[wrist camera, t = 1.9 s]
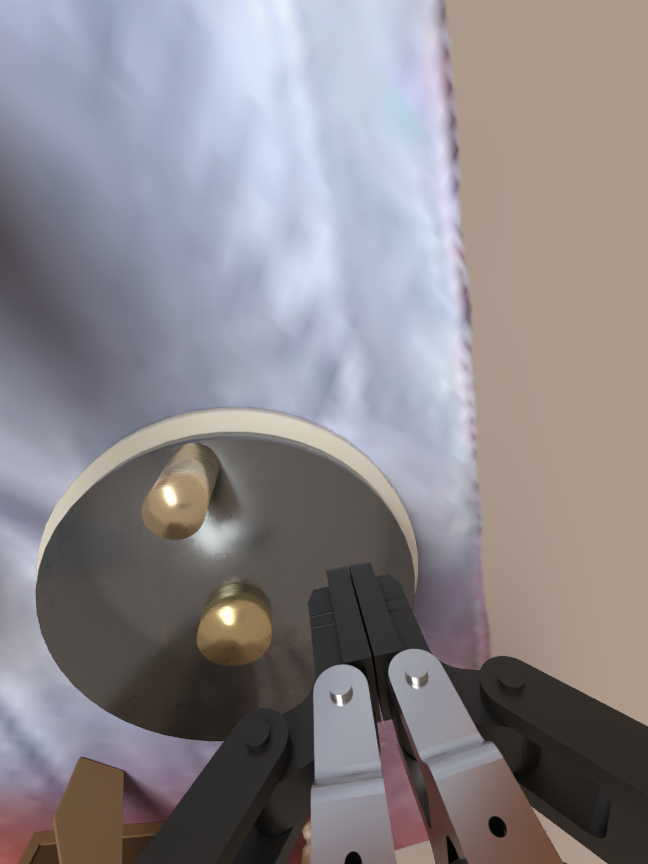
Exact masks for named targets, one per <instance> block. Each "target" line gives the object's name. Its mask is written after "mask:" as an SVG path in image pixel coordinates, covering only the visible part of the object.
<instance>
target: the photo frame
mask: <svg viewBox="0 0 648 864" xmlns="http://www.w3.org/2000/svg"><path fill="white" fill-rule="evenodd" d="M123 784H124V771H123V770H120V769H117V768H113V767H110V766H107V765H104V764H101V763H98V762H94V761H91V760H88V759H85V758H82V757H80V758H79V760H78V762H77V764H76V767H75V769H74V771H73V774H72V776H71V778H70V781H69V783H68V785H67V787H66V790H65V792H64V794H63V797H62V799H61V801H60V804H59V806H58V808H57V811H56V813H55V815H54V817H53V825H54V831H43V832H35V833H34V835H33V837H32V838H31V840H30V842H29V844H28V846H27V848H26V850H25V852H24V853H23V855H22V857H21V859H20V861H19V863H18V864H134V863H135V862H136V861H137V859H138V858H139V856H140V855H141V854H142V852H143V851H144V850H145V848H146V847H147V846H148V844H149V843H150V841H151V840H152V839H153V837H154V836H155V835H156V833H157V832H158V831H159V829H160V828H161V826H162V825H163V824H164V822H165V821H162V822H150V823H138V824H126V825H123Z"/></svg>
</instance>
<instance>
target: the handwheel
mask: <svg viewBox="0 0 648 864" xmlns="http://www.w3.org/2000/svg"><path fill="white" fill-rule="evenodd" d="M368 561H370V562H371V565H372V567H373V570H374V573H375V576H381V575H386V574H390V575H391V576H392V577H393V578H395V579H396V580H397V581H398V582H399V583H400V584H401V586H402V589H403V591H404V593H405V596H406V598H407V600H408V602H409V605H410V608H411V609H412V610H413V603H414V596H415V573H414V567H413V561H412V555H411V552H410V550H409V547H408V544H407V541H406V538H405V536H404V534H403V532H402V530H401V528H400V526H399V524H398V522H397V520H396V519H395V517H394V515H393V513H392V511H391V509H390V508H389V506H388V505H387V504H386V502H385V501H384V500H383V498H382V497H381V496H380V494H379V493H378V492H377V490H376V489H375V488H374V487H373V486H372V485H371V484H370V483H369V482H368V481H367V480H366V479H365V478H364V477H363V476H362V475H360V474H359V473H358V472H356V471H355V470H353V469H352V468H351V467H349V466H348V465H347V464H345V463H344V462H343V461H341V460H339V459H337V458H335V457H333V456H332V455H330V454H328V453H326V452H324V451H323V450H320V449H318V448H315V447H312V446H310V445H307V444H305V443H302V442H300V441H296V440H292V439H288V438H284V437H280V436H276V435H270V434H262V433H254V432H214V433H205V434H197V435H191V436H187V437H183V438H179V439H175V440H171V441H167V442H164V443H162V444H159V445H157V446H154V447H151V448H149V449H146V450H144V451H141V452H140V453H138V454H136V455H134V456H132V457H130V458H129V459H127V460H125V461H123V462H121V463H119V464H118V465H117V466H115V467H114V468H113V469H111V470H110V471H109V472H107V473H106V474H104V475H103V476H102V477H100V478H99V479H98V480H97V481H96V482H95V483H94V484H93V485H92V486H91V487H90V488H89V489H88V490H87V491H86V492H85V493H84V494H83V495H82V496H81V497H80V498H79V499H78V500H77V501H76V502H75V503H74V504H73V505H72V506H71V508H70V509H69V510H68V512H67V513H66V514H65V516H64V517H63V518H62V520H61V521H60V522H59V524H58V525H57V526H56V528H55V530H54V532H53V534H52V536H51V538H50V540H49V542H48V544H47V546H46V547H45V550H44V553H43V556H42V560H41V563H40V566H39V569H38V576H37V584H36V608H37V616H38V620H39V624H40V629H41V633H42V635H43V638H44V640H45V643H46V645H47V647H48V650H49V652H50V654H51V655H52V657H53V658H54V660H55V662H56V663H57V665H58V667H59V668H60V670H61V671H62V672H63V673H64V674H65V676H66V677H67V678H68V679H69V680H70V682H71V683H72V684H73V685H74V686H75V687H76V688H77V689H78V690H79V691H81V692H82V693H83V694H84V695H85V696H86V697H87V698H88V699H90V700H91V701H92V702H94V703H95V704H97V705H98V706H100V707H101V708H103V709H104V710H105V711H107V712H109V713H111V714H113V715H114V716H116V717H118V718H120V719H122V720H124V721H126V722H128V723H131V724H133V725H136V726H138V727H141V728H143V729H146V730H149V731H153V732H156V733H160V734H163V735H167V736H173V737H178V738H184V739H191V740H203V741H225V739H226V738H227V737H228V735H229V734H230V733H231V731H232V730H233V728H234V727H235V726H236V724H237V723H238V722H239V721H240V720H241V719H242V718H243V717H244V716H245V715H247V714H248V713H250V712H252V711H254V710H257V709H260V708H271V709H274V710H277V711H278V712H280V713H281V714H284V713H285V712H287V711H289V710H290V709H292V708H294V707H295V706H297V705H298V704H300V703H301V702H302V701H303V700H304V699H305V698H306V697H307V696H308V695H309V693H310V692H311V690H312V688H313V686H314V682H315V677H316V675H315V663H314V654H313V645H312V636H311V627H310V617H309V608H308V601H309V599H310V596H311V594H312V591H313V590H314V589H319V588H324V587H329V585H328V579H327V574H326V570H330V569H334V568H339V567H344V566H347V567H348V571H349V565H354V564H358V563H363V562H368ZM349 575H350V573H349Z"/></svg>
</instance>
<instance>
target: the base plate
mask: <svg viewBox="0 0 648 864" xmlns="http://www.w3.org/2000/svg"><path fill="white" fill-rule="evenodd" d="M214 432H254V433H262V434H270V435H276V436H280V437H284V438H288V439H292V440H296V441H300V442H302V443H305V444H307V445H310V446H312V447H315V448H318V449H320V450H323V451H324V452H326V453H328V454H330V455H332V456H333V457H335V458H337V459H339V460H341V461H343V462H344V463H345V464H347V465H348V466H349V467H351V468H352V469H353V470H355V471H356V472H358V473H359V474H360V475H362V476H363V477H364V478H365V479H366V480H367V481H368V482H369V483H370V484H371V485H372V486H373V487H374V488H375V489H376V490H377V492H378V493H379V494H380V496H381V497H382V498H383V500H384V501H385V502H386V504H387V505H388V506H389V508H390V509H391V511H392V513H393V515H394V517H395V519H396V520H397V522H398V524H399V526H400V528H401V530H402V532H403V534H404V536H405V538H406V541H407V544H408V547H409V550H410V552H411V555H412V561H413V567H414V573H415V592H416V586H417V579H418V552H417V545H416V539H415V534H414V531H413V528H412V525H411V522H410V519H409V516H408V514H407V512H406V510H405V508H404V506H403V504H402V503H401V501H400V499H399V497H398V495H397V494H396V492H395V490H394V489H393V487H392V486H391V484H390V483H389V481H388V480H387V479H386V477H385V476H384V475H383V473H382V472H381V470H380V469H379V468H378V467H377V466H376V465H375V464H374V463H373V462H372V461H371V460H370V459H369V458H368V457H367V456H366V455H365V454H364V453H363V452H362V451H361V450H359V449H358V448H357V447H356V446H354V445H353V444H352V443H350V442H349V441H348V440H347V439H345V438H343V437H342V436H340V435H338V434H336V433H335V432H333V431H331V430H329V429H328V428H326V427H324V426H321V425H319V424H316V423H314V422H311V421H309V420H307V419H304V418H302V417H298V416H294V415H290V414H287V413H283V412H279V411H274V410H266V409H259V408H252V407H220V408H211V409H202V410H195V411H191V412H187V413H183V414H179V415H175V416H170V417H168V418H165V419H163V420H160V421H157V422H155V423H152V424H150V425H147V426H145V427H143V428H141V429H139V430H137V431H136V432H134V433H132V434H130V435H128V436H126V437H125V438H123V439H121V440H120V441H119V442H117V443H116V444H115V445H113V446H112V447H111V448H109V449H108V450H107V451H105V452H104V453H103V454H101V455H100V456H99V457H98V458H97V459H96V460H95V461H94V462H93V463H92V464H91V465H90V466H89V467H88V468H87V469H86V470H85V471H84V472H83V473H82V474H81V475H80V476H79V477H78V478H77V479H76V480H75V481H74V482H73V483H72V484H71V485H70V486H69V488H68V489H67V491H66V492H65V493H64V495H63V496H62V497H61V499H60V500H59V502H58V503H57V504H56V506H55V508H54V510H53V512H52V514H51V516H50V518H49V520H48V522H47V524H46V527H45V530H44V533H43V537H42V540H41V543H40V546H39V553H38V561H37V569H36V570H37V576H38V569H39V566H40V563H41V560H42V556H43V553H44V550H45V547H46V546H47V544H48V542H49V540H50V538H51V536H52V534H53V532H54V530H55V528H56V526H57V525H58V524H59V522H60V521H61V520H62V518H63V517H64V516H65V514H66V513H67V512H68V510H69V509H70V508H71V506H72V505H73V504H74V503H75V502H76V501H77V500H78V499H79V498H80V497H81V496H82V495H83V494H84V493H85V492H86V491H87V490H88V489H89V488H90V487H91V486H92V485H93V484H94V483H95V482H96V481H97V480H98V479H99V478H100V477H102V476H103V475H104V474H106V473H107V472H109V471H110V470H111V469H113V468H114V467H115V466H117V465H118V464H119V463H121V462H123V461H125V460H127V459H129V458H130V457H132V456H134V455H136V454H138V453H140V452H141V451H144V450H146V449H149V448H151V447H154V446H157V445H159V444H162V443H164V442H167V441H171V440H175V439H179V438H183V437H187V436H191V435H197V434H205V433H214Z"/></svg>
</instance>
